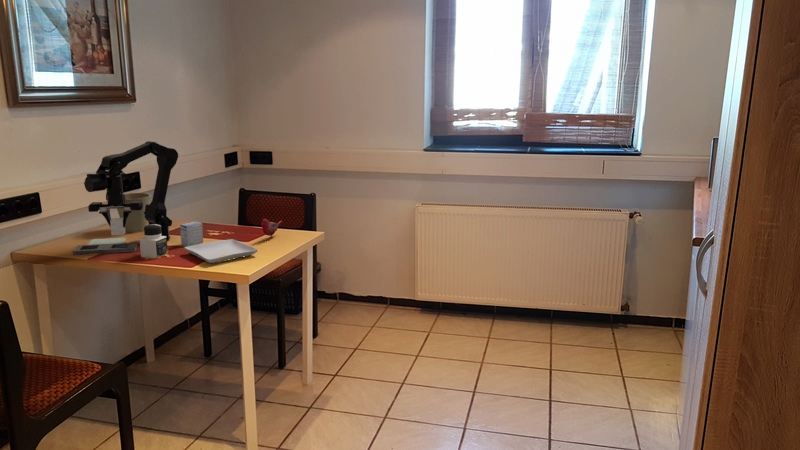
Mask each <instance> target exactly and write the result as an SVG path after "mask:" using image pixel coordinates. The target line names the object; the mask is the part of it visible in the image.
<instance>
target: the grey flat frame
mask: <svg viewBox="0 0 800 450" xmlns="http://www.w3.org/2000/svg"><path fill="white" fill-rule="evenodd" d="M138 247H139V242H137V241H135V242H124V243H115V244H94V245H88V244H77V246H76V247H75V248H74V249H73V250H72V256H82V255H83V256H85V255H101V254H102V255H103V254H119V253H120V254H122V253H135V252H136V251H137V249H138Z"/></svg>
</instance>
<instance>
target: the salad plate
mask: <svg viewBox="0 0 800 450" xmlns="http://www.w3.org/2000/svg"><path fill="white" fill-rule="evenodd" d="M183 248H184V250H185V251H186V252H188V253H190V254H191V255H193V256H196V257H197V258H199V259H201V260H203V261H205V262H207V263H210V264H216V263H215V262H218V263H220V262H219V261H223V262H225V261H224V260H228V259H233V258H238V257H243V256H246V257H250V256H253V255H255V254H256V253H257V252H258V251H259V249H258V248H256V247H254V246H251V245H249V244H246V243H244V242H241V241H238V240H237V239H232V238H229V239H223V240H216V241H210V242H203V243H198V244H195V245H191V246H184V247H183ZM222 255H227V256H223V257H219V256H222ZM249 255H250V256H249ZM243 258H244V257H243ZM238 259H239V258H238ZM233 260H234V259H233ZM228 261H229V260H228Z"/></svg>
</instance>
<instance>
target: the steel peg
mask: <svg viewBox="0 0 800 450" xmlns="http://www.w3.org/2000/svg"><path fill="white" fill-rule="evenodd" d="M110 225H111V228H110V234H111V236H124V235H125V233H127V231H126V229H125V228H124V225H123V218H120V217H111V220H110Z"/></svg>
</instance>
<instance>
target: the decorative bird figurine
mask: <svg viewBox="0 0 800 450" xmlns="http://www.w3.org/2000/svg"><path fill="white" fill-rule="evenodd" d="M282 222H283V220H280V221H279V222H277V223H276V222H273V221H269V220H268V219H267V218H263V219H261V222H260V225H261V228H262V232H263V233H264V235H265V236H269V237H268V238H267V239H266V240H268V241H269V240H271V239H272V238H273V235H274V234H275V233H276V232H277V231H278V228H279V226H280V225H281V223H282Z"/></svg>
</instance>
